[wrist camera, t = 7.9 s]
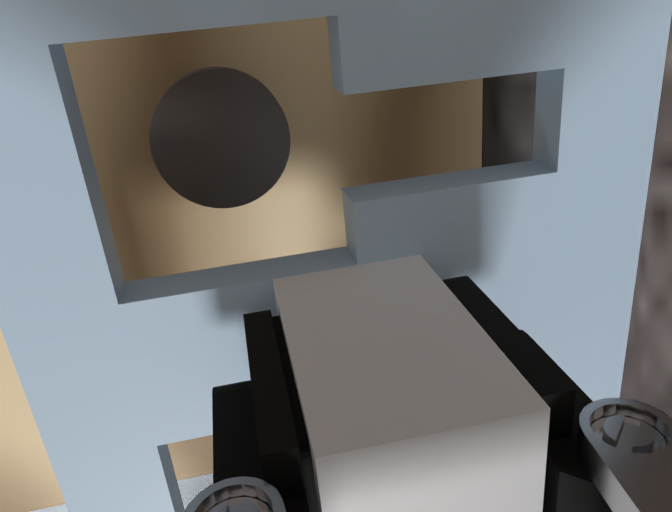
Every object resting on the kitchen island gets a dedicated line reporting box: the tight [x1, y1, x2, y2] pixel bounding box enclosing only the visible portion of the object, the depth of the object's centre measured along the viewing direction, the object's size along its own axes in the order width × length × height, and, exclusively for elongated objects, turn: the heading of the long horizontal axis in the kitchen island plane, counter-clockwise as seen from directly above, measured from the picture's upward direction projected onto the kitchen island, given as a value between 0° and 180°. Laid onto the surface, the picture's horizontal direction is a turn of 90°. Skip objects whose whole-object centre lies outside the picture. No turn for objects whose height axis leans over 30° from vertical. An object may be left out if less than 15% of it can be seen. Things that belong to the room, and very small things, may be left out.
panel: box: [0, 0, 672, 512], centre depth 11 cm, size 13×15×6 cm
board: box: [0, 17, 483, 512], centre depth 16 cm, size 17×14×4 cm
